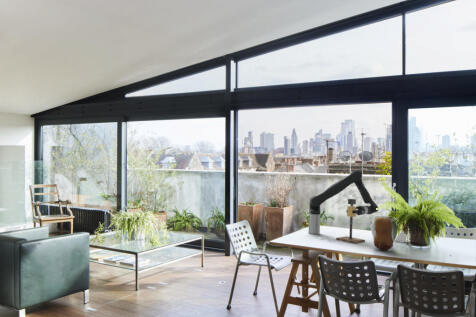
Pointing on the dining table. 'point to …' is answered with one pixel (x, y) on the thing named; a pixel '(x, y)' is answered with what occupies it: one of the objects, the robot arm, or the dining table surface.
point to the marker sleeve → (350, 209)
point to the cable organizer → (401, 237)
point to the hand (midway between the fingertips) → (349, 211)
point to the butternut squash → (383, 233)
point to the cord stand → (350, 238)
